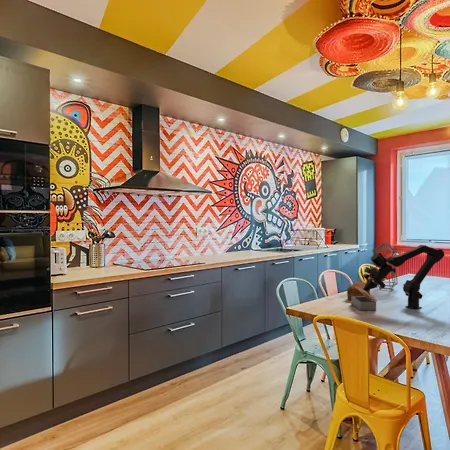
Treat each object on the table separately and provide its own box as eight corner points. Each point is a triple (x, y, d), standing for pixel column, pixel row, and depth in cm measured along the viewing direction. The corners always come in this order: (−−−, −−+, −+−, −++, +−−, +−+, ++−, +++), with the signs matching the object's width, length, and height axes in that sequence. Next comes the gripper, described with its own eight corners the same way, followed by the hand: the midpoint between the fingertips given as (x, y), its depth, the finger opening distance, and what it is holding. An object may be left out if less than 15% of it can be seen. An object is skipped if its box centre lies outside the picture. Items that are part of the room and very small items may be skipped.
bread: (354, 294, 240) (355, 280, 240) (371, 296, 234) (371, 282, 234) (346, 299, 225) (346, 284, 225) (363, 302, 219) (363, 286, 219)
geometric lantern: (394, 293, 245) (393, 243, 244) (371, 290, 255) (370, 243, 254) (400, 289, 257) (399, 242, 256) (378, 287, 267) (377, 241, 266)
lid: (365, 296, 212) (366, 295, 212) (376, 302, 198) (377, 300, 198) (354, 287, 212) (355, 285, 212) (364, 292, 198) (365, 290, 198)
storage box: (365, 304, 212) (365, 296, 212) (376, 310, 198) (376, 302, 198) (351, 304, 212) (351, 296, 212) (360, 310, 198) (360, 302, 198)
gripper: (366, 260, 214) (348, 278, 214) (380, 264, 195) (360, 283, 196) (378, 273, 214) (360, 291, 215) (394, 279, 196) (373, 298, 196)
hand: (363, 290), depth 205 cm, fingers closed, pressing on lid
